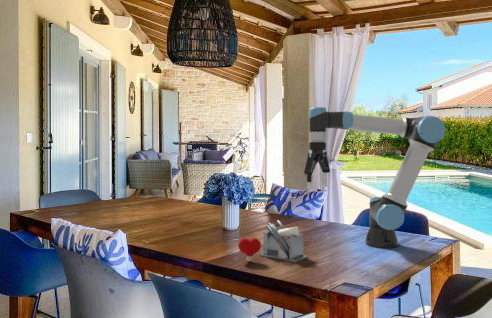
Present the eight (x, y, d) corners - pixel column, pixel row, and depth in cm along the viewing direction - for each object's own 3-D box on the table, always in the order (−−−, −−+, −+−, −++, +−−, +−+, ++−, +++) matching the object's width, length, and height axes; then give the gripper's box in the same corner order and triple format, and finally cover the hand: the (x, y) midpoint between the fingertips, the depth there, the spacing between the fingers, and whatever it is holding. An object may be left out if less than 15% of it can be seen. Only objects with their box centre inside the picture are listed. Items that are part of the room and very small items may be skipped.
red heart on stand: (260, 259, 207) (260, 236, 206) (261, 264, 200) (261, 239, 199) (238, 259, 206) (238, 236, 206) (238, 264, 199) (238, 240, 199)
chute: (307, 257, 211) (307, 222, 210) (295, 262, 203) (295, 226, 202) (272, 251, 221) (272, 218, 220) (259, 255, 213) (260, 221, 212)
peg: (281, 229, 214) (298, 226, 209) (283, 237, 214) (299, 234, 208) (276, 229, 212) (293, 226, 206) (278, 238, 211) (295, 235, 205)
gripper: (322, 140, 234) (322, 184, 235) (296, 141, 214) (296, 190, 215) (337, 141, 229) (336, 185, 231) (311, 142, 209) (311, 191, 211)
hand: (317, 188), depth 223 cm, fingers open, 13 cm apart
